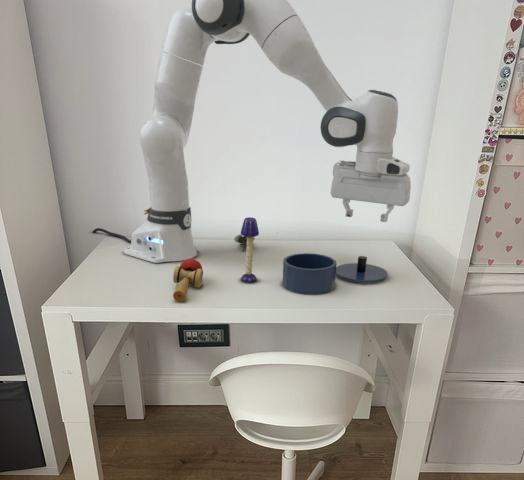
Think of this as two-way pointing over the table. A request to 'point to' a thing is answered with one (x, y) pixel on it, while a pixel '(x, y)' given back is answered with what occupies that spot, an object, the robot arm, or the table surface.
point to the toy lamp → (249, 247)
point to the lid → (361, 271)
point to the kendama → (187, 277)
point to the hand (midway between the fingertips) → (366, 219)
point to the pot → (309, 273)
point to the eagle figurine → (242, 241)
